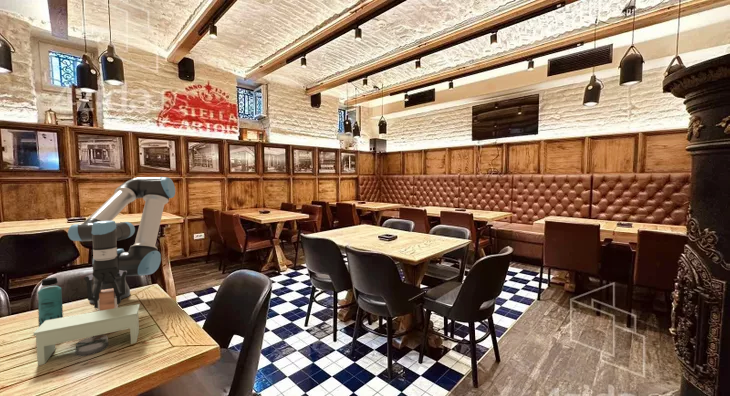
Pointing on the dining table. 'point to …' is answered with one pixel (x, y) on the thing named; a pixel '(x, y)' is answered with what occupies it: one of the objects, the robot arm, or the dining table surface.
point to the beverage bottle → (49, 301)
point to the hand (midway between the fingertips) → (108, 313)
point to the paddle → (107, 299)
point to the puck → (91, 345)
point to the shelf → (85, 328)
